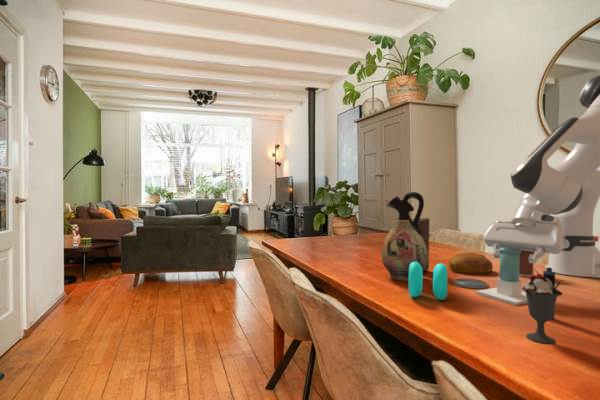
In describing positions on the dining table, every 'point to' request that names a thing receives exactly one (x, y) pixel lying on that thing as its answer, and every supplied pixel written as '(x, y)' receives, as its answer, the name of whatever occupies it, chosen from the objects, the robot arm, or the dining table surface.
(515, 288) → the white cube on base
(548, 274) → the vaping device
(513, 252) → the teal domed cylinder
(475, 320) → the dining table surface
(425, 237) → the brown tall cylinder
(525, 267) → the coffee cup
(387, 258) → the ceramic jug
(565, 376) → the dining table surface
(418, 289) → the donuts
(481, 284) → the dish
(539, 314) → the sundae
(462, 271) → the brown oval lump
